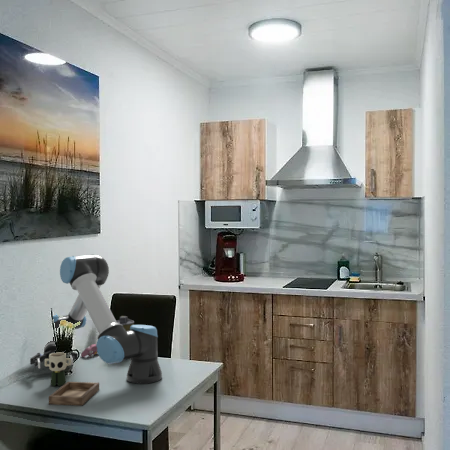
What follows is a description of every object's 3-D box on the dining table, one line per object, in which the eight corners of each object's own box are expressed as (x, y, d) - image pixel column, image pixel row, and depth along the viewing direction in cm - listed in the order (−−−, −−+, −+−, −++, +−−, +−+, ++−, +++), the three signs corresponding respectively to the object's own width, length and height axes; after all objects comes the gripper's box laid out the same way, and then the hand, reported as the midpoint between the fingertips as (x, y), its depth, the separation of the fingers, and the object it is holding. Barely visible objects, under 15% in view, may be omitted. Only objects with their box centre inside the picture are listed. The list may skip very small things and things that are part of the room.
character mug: (43, 388, 220) (42, 357, 219) (46, 382, 227) (46, 352, 227) (69, 387, 221) (69, 356, 221) (73, 381, 228) (72, 351, 228)
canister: (130, 359, 260) (129, 319, 260) (110, 358, 263) (109, 318, 262) (138, 353, 271) (137, 314, 270) (118, 352, 273) (118, 314, 272)
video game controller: (85, 361, 264) (89, 349, 262) (79, 355, 266) (83, 344, 264) (99, 356, 272) (104, 345, 270) (94, 351, 274) (98, 340, 272)
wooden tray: (99, 389, 217) (99, 382, 217) (82, 405, 200) (82, 397, 200) (68, 388, 219) (68, 381, 219) (48, 404, 202) (48, 396, 202)
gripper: (79, 356, 254) (85, 368, 234) (23, 362, 245) (25, 375, 225) (79, 340, 254) (85, 351, 234) (23, 346, 244) (24, 358, 225)
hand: (55, 363), depth 230 cm, fingers open, 13 cm apart
